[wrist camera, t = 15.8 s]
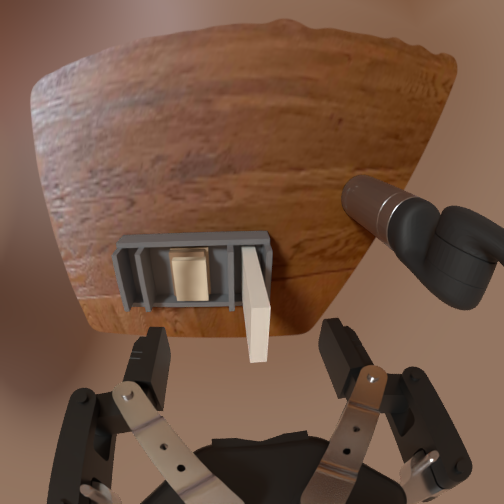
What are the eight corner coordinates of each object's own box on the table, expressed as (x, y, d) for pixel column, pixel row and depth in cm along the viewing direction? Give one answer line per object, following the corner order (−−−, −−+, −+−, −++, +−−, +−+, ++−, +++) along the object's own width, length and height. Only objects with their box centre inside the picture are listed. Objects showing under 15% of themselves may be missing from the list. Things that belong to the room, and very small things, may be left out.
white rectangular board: (254, 243, 52) (270, 307, 34) (252, 289, 56) (266, 361, 38) (241, 244, 52) (251, 308, 34) (241, 289, 56) (250, 362, 38)
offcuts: (208, 244, 51) (207, 254, 47) (211, 289, 55) (210, 302, 51) (171, 245, 50) (167, 255, 46) (177, 290, 54) (173, 303, 50)
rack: (266, 230, 52) (272, 245, 46) (264, 293, 58) (269, 313, 52) (122, 235, 49) (110, 250, 43) (134, 295, 55) (126, 315, 49)
